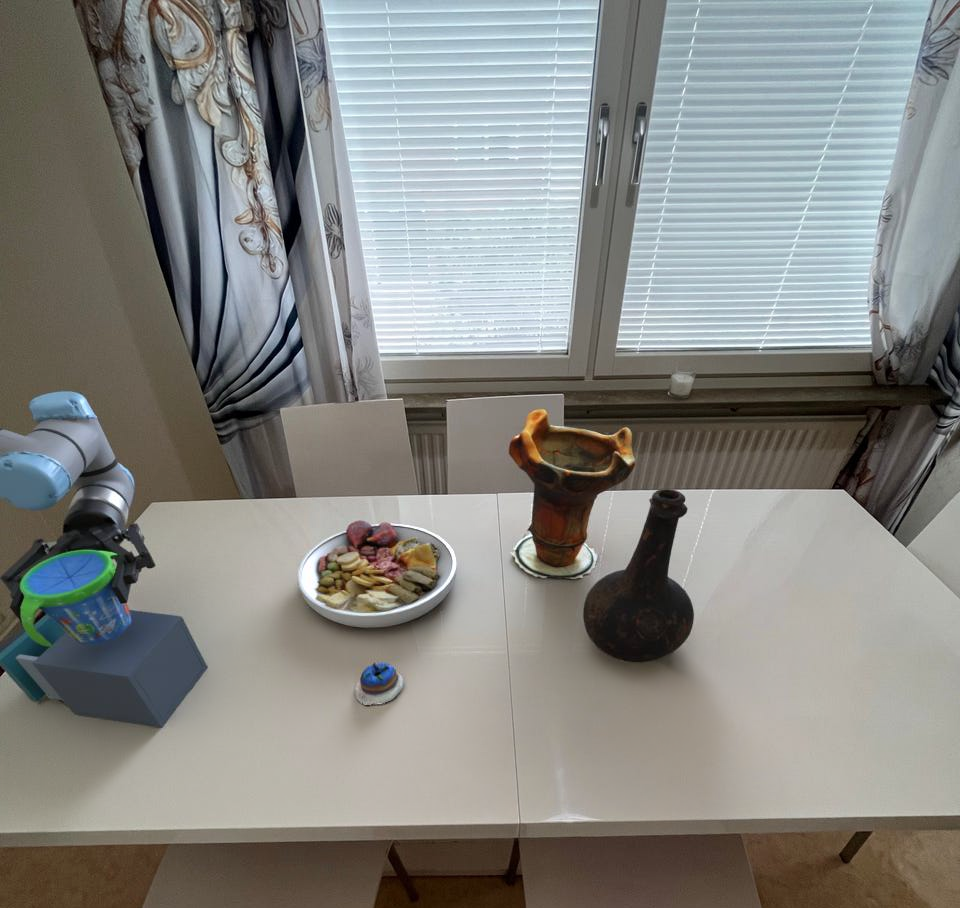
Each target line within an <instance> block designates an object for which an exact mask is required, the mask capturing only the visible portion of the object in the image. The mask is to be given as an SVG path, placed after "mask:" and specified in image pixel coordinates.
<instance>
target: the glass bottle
mask: <svg viewBox="0 0 960 908" xmlns="http://www.w3.org/2000/svg"><path fill="white" fill-rule="evenodd" d="M648 501H649V504H650V505H649V508H648V509H649V510H648V512H647V514H646V515H647V516H646V519H645V522H644V524H643V528H642V531H641V534H640V537H639V540H638V542H637V545H636V547H635V550H634V552H633V554H632V557H631V558H630V560H629V563H628V564H627V565H626V568H625V569H621V570H616V571H613V572H611V573H608V574H607V575H605V576H603V577H602V578H600V579H599V580H597V581H596V582H595V583H594V584H593V586H591V588H590V590H588V592H587V595H586V597H585V599H584V602H583V607H582V620H583V625H584V628H585V630H586V634H587V636H588V637H589V639H590V640H591V642H592V643H593V644H594V645H595V646H596V647H597V648H598V649H599V650H600V651H601V652H603V653H604V654H606V655H607V656H609V657H612V658H614V659H616V660H618V661H621V662H627V663H635V664H642V663H649V662H654V661H658V660H661V659H663V658H666V657H667V656H669V655H671V654H673V653H674V652H676V651H677V650H678V649H679V648H680V647H681V646H682V645H683V644H684V643H685V642H686V641H687V639H688V638H689V636H690V634H691V632H692V629H693V626H694V619H695V613H694V612H695V611H694V607H693V606H694V605H693V602H692V600H691V598H690V596H689V595H688V593H687V591H686V590H685V589H684V588H683V587H682V586H681V584H679V583H678V582H677V581H675V580H674V579H673V578H671V577H669V569H670V568H669V567H670V561H671V555H672V550H673V545H674V540H675V537H676V532H677V528H678V525H679V520H680V518H682V517H684V516H685V515H687V513H688V507H687V505H686V504H685V502H686V496H685V495H684V494H683V493H682V492H680V491H678V490H675V489H672V488H660V489H657V490H656V491H655V492H653V493H652V495H651V498H649V500H648Z"/></svg>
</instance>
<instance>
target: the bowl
mask: <svg viewBox="0 0 960 908" xmlns="http://www.w3.org/2000/svg"><path fill="white" fill-rule="evenodd" d="M296 575H297V576H296V577H297V578H296V579H297V584H298V587H299V590H300V593H301V595H302V597H303V598H304V600H305V602H306V603H307V604H308V606H309V607H311V608H312V609H313V610H314V611H315V612H316V613H318V614H319V615H320V616H322V617H324V618H325V619H328V620H330V621H332V622H335V623H337V624H341V625H345V626H349V627H354V628H355V627H356V628H365V629H366V628H367V629H368V628H370V629H371V628H374V629H375V628H385V627H393V626H396V625H401V624H404V623H407V622H410V621H412V620H415V619H417V618H420V617H422V616H424V615H425V614H427V613H429V612H430V611H432V610H433V609H434V608H436V607H437V606H438V605H439V604H440V603H441V602H442V601H443V600H444V599H445V598H446V597H447V595H448V593H450V591H451V589H452V588H453V585H454V582H455V579H456V575H457V559H456V555H455V552H454V550H453V548H452V547H451V545H449V544H448V542H447V541H445V540H444V539H443V538H442V537H441V536H439V535H438V534H436V533H433V532H431V531H429V530H428V529H424V528H422V527H421V528H420V527H417V526H412V525H407V524H400V523H399V524H397V523H390V522H387V521H386V522H385V521H384V522H381V523H375V524H370V523H369V522H368V521H365V520H361V519H360V520H356V521H354V522H351V523H350V524H349V525H348V526H347V528H346V530H343V531H341V532H338V533H335V534H333V535H331V536H328V537H327V538H325V539H323V540H322V541H320V542H319V543H318V544H316V545H315V546H313V547H312V548H311V549H310V550H309V551H308V552H307V553H306V554H305V556H304V557H303V558H302V560H301V562H300V564H299V566H298V569H297V574H296Z"/></svg>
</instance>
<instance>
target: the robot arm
mask: <svg viewBox="0 0 960 908" xmlns="http://www.w3.org/2000/svg"><path fill="white" fill-rule="evenodd" d="M29 410H30V412H31V414H32V418H33V421H34V422H36V424H37V425H36V426H35V427H33V429H31V430H30V431H29V432H28V433H27V434H26V435H21V434H20V433H16V432H13V431H11V430H7V429H3V428H2V427H1V428H0V498H1V499H2V500H5V501H6V502H8V503H10V505H11V506H14V507H16V508H18V509H22V510H25V511H34V512H35V511H37V512H38V511H44V510H47V509H50V508H51V507H53V506H55V504H57V503H58V502H59V501H60V500H61V499H63V498H64V497H65V496H66V495H68V493H69V491H70V489H72V486H73V488H74V490H75V492H74V495H73V498H72V499H71V502H70V503H69V504H70V505H69V506H68V509H67V513H66V515H65V517H64V520H63V523H62V534H61V535H60V536H58V537H57V539H56V541H49V542H46V541H45V540H44V538H37V539H35V540H34V541H33V542H32V544H31V545H32V546H31V547H30V548H29V550H27V551H26V552H25V553H24V554H23V555H22V556H21V557H20V558H19V559H18V560H17V561H15V562H14V563H13V564H12V565H11V566H10V567H9V568H8V569H7V570H6V571H5V572H4V573H3V574H2V575H1V576H0V580H1V581H2V583H3V584H4V586H5V587H6V588H7V589H8V590H9V592H10V594H9V596H10V597H11V599H12V600H11V603H10V605H9V609H10V610H11V612H13V614H14V615H15V616H16V617H17V619H18V620H19V621H20V622H21V623H22V620H21V608H20V607H21V605H22V602H23V600H24V595H23V593H22V592H21V590H20V582H21V580H22V578H23V577H24V575H25V574H26V573H27V572H28V571H29V570H30V569H32V568H33V567H34V566H36V565H37V564H39V563H41V562H42V561H45V560H47V559H49V558H51V557H54V556H56V555H60V554H63V553H67V552H71V551H77V550H96V551H107V552H112V553H116V554H118V555H119V558H118V561H117V563H116V565H115V569H116V570H115V574H114V578H113V583H112V587H111V588H112V590H113V592H114V593H115V595H116V597H117V598H118V600H119V601H120V603H121V604H124V603H127V604H128V602H129V601H128V600H129V595H130V592H131V591H130V590H131V586H132V585H133V584H137V582H138V581H139V576H140V573H141V572H142V569H144V568H146V569H153V568H155V567H156V566H157V564H156V563H155V561H154V559H153V557H152V555H151V553H150V551H149V549H148V547H147V546H146V544H145V539H146V538H145V536H144V533H143V532H142V529H141V528H140V526H139V524H138V523H131V524H130V525H128V528H126V525H127V522H128V518H129V513H130V508H131V505H132V502H133V500H134V497H135V480H134V476H133V475H132V473H131V472H130V471H129V469H128V468H127V467H125V466H124V465H123V464H121V463H119V461H118V459H117V458H116V456H115V453H114V451H113V449H112V447H111V445H110V443H109V441H108V439H107V437H106V435H105V433H104V431H103V428H102V426H101V424H100V422H99V420H98V416H97V415H96V414H95V412H94V411H93V409H92V407H91V405H90V404H89V402H88V400H87V398H86V397H85V396H84V395H83V394H80V393H79V392H75V391H64V390H63V391H55V392H49V393H45V394H42V395H41V394H40V395H38V396H36V397H35V398H33V399H32V400H30V402H29ZM125 540H126V541H127V542H130V544H131V545H133V546H134V548H135V550H136V552H137V553H138V555H134V553H133V551H132V550H130V551H128V550H127V549H126V548H124V547H123V546H121V544H122V543H123V542H124V541H125ZM111 560H112V561H113V560H114V558H113V557H111Z"/></svg>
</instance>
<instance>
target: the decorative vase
mask: <svg viewBox="0 0 960 908" xmlns="http://www.w3.org/2000/svg"><path fill="white" fill-rule="evenodd" d="M508 455H509V456H510V458H511V459H512V460H513V462H514V463H515V464H516V465H517V466H518V468H519V469H520V470H522V471H524V473H525V474H526V475H527V476H528V478H529V480H530V481H531V482H532V483H533V499H532V511H531V524H529V527H528V528H527V530H526V532H527V531H528V532H530V534H528V535H526V534H527V533H524V536H523V538H522V539H521V538H520V540H519V541H518V542H517V543H516V544H515V546H514V547H512V549H513V551H511V552H509V554H510V555H511V556H512V557H513V558H515V559H514V561H515V563H517V564H518V565H519V568H521V569H523V571H525V572H526V573H528V574H530V575H532V576H533V577H536V578H537V577H540V578H542V579H546V578H548V577H549V578H550V577H554V578H558V579H571V580H576V579H579V578H580V579H583V578H584V575H586V574H591V571H592V570H594V569H595V567H596V564H597V562H596V561H598V558H599V557H598V554H596V551H595V548H591V547H589V545H588V544H587V543H585V542H586V540H587V538H588V532H587V531H588V526H589V521H590V515H591V512H592V510H593V507H594V504H595V501H596V499H597V498H598V495H600V494H602V493H604V492H606V491H608V490H609V489H611V488H613V487H615V486H617V485H619V484H622V483H623V482H624V481H626V480H627V479H628V478H629V476H630V475H631V474H632V472H633V470H634V469H635V467H636V458H635V456H634V451H633V434H632V431H631V429H630V428H628V427H622V428H621V429H619V431H617V432H616V433H614V434H611V435H610V434H609V435H606V434H602V433H599V432H597V431H593V430H588V429H584V428H578V427H571V426H570V427H569V426H556V425H551V424H550V422H549V419H548V412H547V411H546V410H545V409H542V408H540V409H534V410H533V411H531V412H530V413H528V414H527V416H526V418H525V424H524V429H523V430H522V431H521V432H520V433H519V434H518V435H516V436H515V437H513V438H511V440H510V442H509V445H508Z"/></svg>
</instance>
